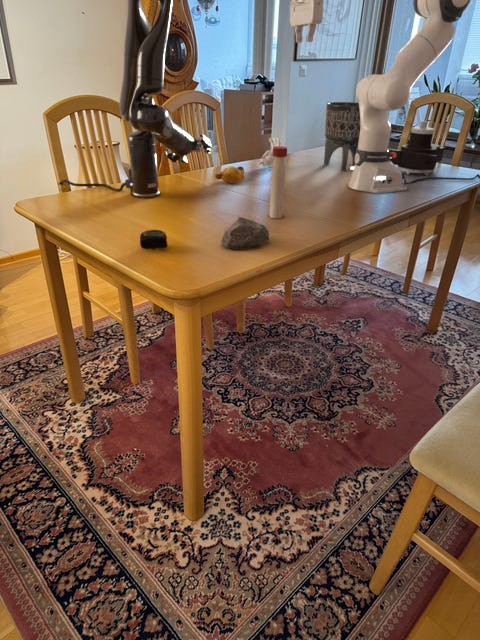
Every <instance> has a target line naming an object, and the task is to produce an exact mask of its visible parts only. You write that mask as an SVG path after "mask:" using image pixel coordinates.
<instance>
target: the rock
mask: <svg viewBox="0 0 480 640" xmlns="http://www.w3.org/2000/svg"><path fill="white" fill-rule="evenodd" d="M269 241H270V233H269V230H268V229H267V228H266V226H265V225H263V224H261V223H259V222H256V221H255V220H252V219H247V218H245V217H241V216H238V217H237V218H236V219H235V221H234V222H233V223H232V224H231V225H229V226H228V227H227V228H226V229H225V231H224V233H223V236H222V239H221V244H222V247H224V248H229V249H231V250H245V249H254V248H257V247H259V246H260V245H264V244H266V242H269Z"/></svg>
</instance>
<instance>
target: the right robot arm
mask: <svg viewBox="0 0 480 640" xmlns="http://www.w3.org/2000/svg"><path fill="white" fill-rule="evenodd" d="M412 1H413V3H412V4H413V10H414V12H415V14H416V15H417V16H418V17H420V18H422V19H426V20H425V22H424V24H423V26H422V27H421V29H420V30H418V31H417V32H416V34H415V35H413V37H411V38H410V40H409V41H408V42H407V43H406V44H405V45H404V46H403V47H402V48H401V49H400V50H399V51H398V52H397V53H396V55H395V58H394V62H393V64H392V66H391V67H390V68H389V69H388V71H386V73H384V74H377V73H374V74H373V73H372V74H370V75H368V76H365V77H363V78H362V79H361V80H359V82H358V83H357V85H356V89H355V97H356V99H357V101H358V102H357V103H359V109H360V135H359V142H358V148H357V149H356V155H355V166H350V170H353V171H352V174H351V176H350V180H349V182H348V184H347V187H348V188H350V189H352V190H355V191H359V192H367V193H372V194H386V193H387V194H388V193H393V192H394V193H395V192H404V191H408V186H406V185H410V184H414V183H416V182H421V181H424V180H458V181H472V180H475V179H477V178H480V174H479V173H477V174H476V175H475V176H474V177H444V176H427V177H422V178H421V177H420V178H417V179H414V180H412V181H411V182H407V178H406V176H405V173H404V172H402V171H400V170H399V169H398V168H397V167H398V166H397V165H394V164H393V163H392V162H391V161H390V158H395V157H396V156H397V154H395V152H390V151H388V149H389V145H390V139H391V135H392V134H391V133H392V126H391V123H390V122H389V112H392V111H397V110H400V109H402V108H403V107H405V105H406V104H407V103H408V101H409V99H410V97H411V89H412V88H413V86H414V85H415V83H416V82H417V80H418V79H419V78H420V76H422V74H424V72H425V71H426V70H427V69H429V67H430V66H431V65H432V64H433V63H434V62H435V61H436V60H437V59H438V58H439V57H440V55H442V53H443V52H444V51H445V50H446V49H447V48H448V46H449V45H450V43H451V42H452V40H453V39H454V37H455V33H456V27H455V24H454V23H455V22H456V21H458V20H460V19H461V18H462V17H463V14H464V11H466V9H467V8H468V6H469V5H470V2H471V0H412ZM324 4H325V2H324V0H290V4H289V5H290V6H289V23H290V27H293V28H294V32H295V42H296V44H298V43H300V44H302V43H303V38H304V36H303V30H304V29H303V28H304V27H307V34H306V37H305V42H306V43H313V41H314V35H315V32H316V30H317V25H321V24H322V22H323V19H324Z"/></svg>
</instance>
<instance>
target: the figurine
mask: <svg viewBox="0 0 480 640" xmlns="http://www.w3.org/2000/svg"><path fill="white" fill-rule="evenodd" d="M268 140H269V141H268V142H269V143H270V144H271V149H268V150H266V151H265V153H263V155H262V157H261V159H260V160H259V161H258V165H259V166H261V167H264V168H266V167H267V168H270V169H272V166H273V162H274V159H275V157H274V156H273V147H275V146H281V145H282V142H281V140H280V139H278V137H275V138H274V137H272V136H270V137H269V139H268ZM275 143H276V144H275Z"/></svg>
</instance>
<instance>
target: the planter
mask: <svg viewBox="0 0 480 640" xmlns="http://www.w3.org/2000/svg"><path fill="white" fill-rule="evenodd" d="M324 125H325V126H324V139H325V144H324V156H323V157H324V158H323V165H325V166H328V165H330V163H331V158H332V156H333V154H334V153H335V151H336V150H337V149H340V148H341V150H342V153H341V166H340V170H341V172H345V171H347V167H348V166H347V165H348V159H349V152H350V154H351V157H352V158H351V159H352V160H351V161H352V167H354V166H355V155H356V149H357V148H358V142H359V135H360V109H359V102H353V101H333V102H327V103H326V109H325V124H324Z"/></svg>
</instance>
